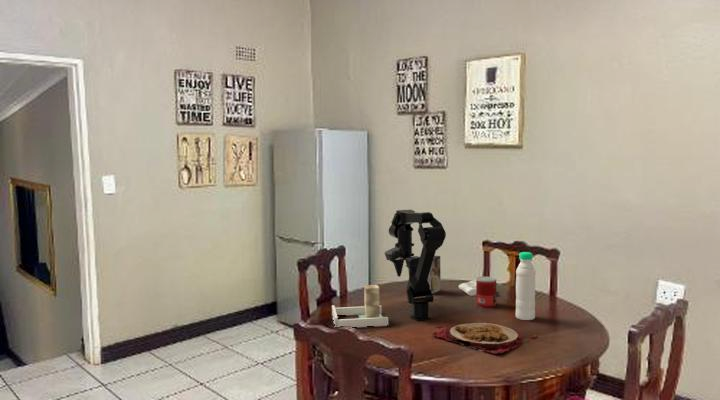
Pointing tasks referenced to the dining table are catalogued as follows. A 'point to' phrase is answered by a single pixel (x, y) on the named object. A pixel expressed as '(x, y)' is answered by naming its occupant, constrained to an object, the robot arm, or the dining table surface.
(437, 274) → the coffee box
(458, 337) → the plate with food
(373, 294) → the beige cylinder
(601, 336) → the dining table surface
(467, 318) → the dining table surface
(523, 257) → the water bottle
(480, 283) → the canned food
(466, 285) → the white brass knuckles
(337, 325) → the tray
